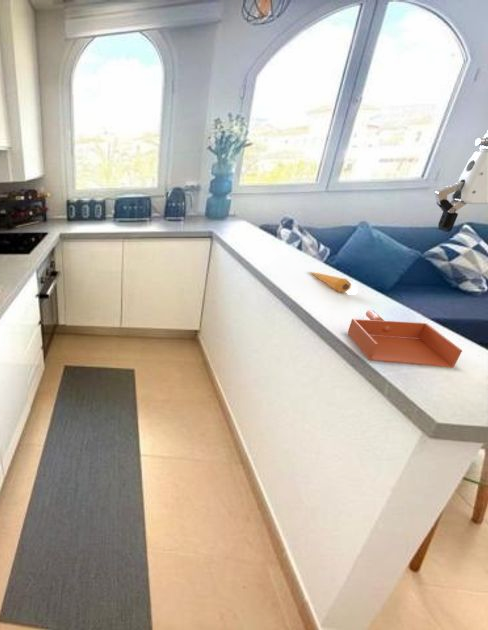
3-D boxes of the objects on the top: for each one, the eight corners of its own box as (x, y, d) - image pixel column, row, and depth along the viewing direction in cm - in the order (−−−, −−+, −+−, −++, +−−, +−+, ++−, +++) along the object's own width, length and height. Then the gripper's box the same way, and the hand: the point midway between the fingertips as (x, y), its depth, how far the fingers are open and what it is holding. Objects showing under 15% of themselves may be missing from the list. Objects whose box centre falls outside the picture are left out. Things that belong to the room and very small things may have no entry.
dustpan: (453, 367, 74) (462, 350, 72) (369, 360, 78) (375, 343, 76) (399, 322, 92) (405, 307, 90) (334, 318, 96) (338, 304, 94)
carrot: (347, 295, 110) (356, 282, 108) (335, 290, 110) (343, 278, 108) (312, 279, 129) (319, 268, 127) (301, 275, 128) (308, 264, 127)
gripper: (467, 146, 66) (432, 234, 74) (592, 138, 61) (541, 234, 69) (442, 145, 73) (413, 227, 80) (553, 138, 68) (511, 226, 75)
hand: (472, 230), depth 74 cm, fingers open, 9 cm apart
